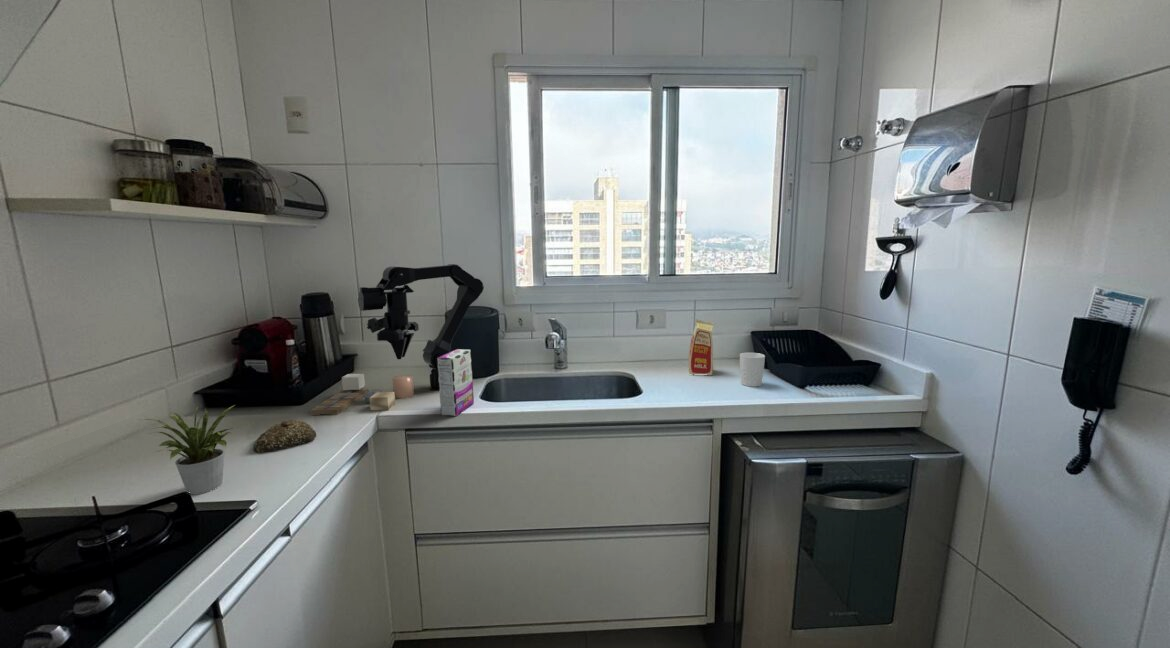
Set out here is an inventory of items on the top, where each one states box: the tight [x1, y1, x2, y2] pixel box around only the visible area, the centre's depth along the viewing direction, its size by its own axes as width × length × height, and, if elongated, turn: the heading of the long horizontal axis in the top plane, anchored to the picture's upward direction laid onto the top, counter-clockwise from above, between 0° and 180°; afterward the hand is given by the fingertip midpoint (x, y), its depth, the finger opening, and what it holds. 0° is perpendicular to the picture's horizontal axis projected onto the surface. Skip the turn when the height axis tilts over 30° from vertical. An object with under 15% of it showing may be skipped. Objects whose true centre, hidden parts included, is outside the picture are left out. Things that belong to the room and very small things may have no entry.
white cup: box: [739, 351, 766, 388], centre depth 149 cm, size 8×8×10 cm
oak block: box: [369, 391, 396, 411], centre depth 129 cm, size 5×5×4 cm
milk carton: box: [688, 318, 716, 376], centre depth 164 cm, size 9×9×20 cm
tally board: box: [310, 387, 369, 416], centre depth 133 cm, size 20×7×2 cm, turn 3°
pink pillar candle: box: [391, 374, 415, 399], centre depth 140 cm, size 6×6×6 cm
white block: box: [341, 373, 366, 390], centre depth 141 cm, size 4×5×4 cm
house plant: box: [137, 403, 236, 495], centre depth 83 cm, size 14×14×16 cm
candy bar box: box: [437, 348, 475, 417], centre depth 126 cm, size 11×5×16 cm, turn 168°
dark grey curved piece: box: [364, 389, 384, 404], centre depth 135 cm, size 5×5×3 cm
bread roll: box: [252, 419, 317, 454], centre depth 107 cm, size 13×12×5 cm
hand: (400, 358), depth 138 cm, fingers open, 3 cm apart
